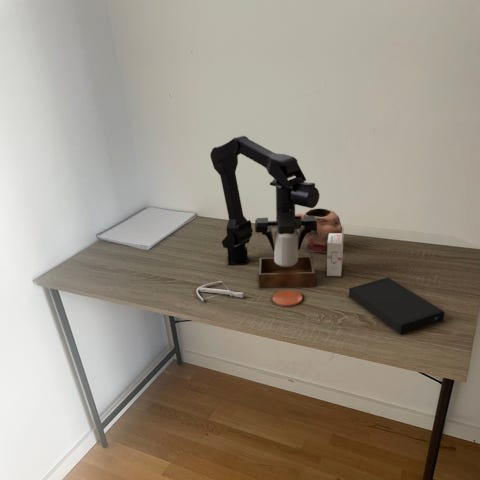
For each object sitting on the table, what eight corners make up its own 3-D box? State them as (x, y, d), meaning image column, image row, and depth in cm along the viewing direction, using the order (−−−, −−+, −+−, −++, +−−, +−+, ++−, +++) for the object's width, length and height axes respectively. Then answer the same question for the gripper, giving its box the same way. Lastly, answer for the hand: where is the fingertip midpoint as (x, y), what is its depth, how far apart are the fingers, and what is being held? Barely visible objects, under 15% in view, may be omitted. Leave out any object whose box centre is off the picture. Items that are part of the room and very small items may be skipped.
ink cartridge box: (327, 264, 159) (328, 223, 151) (341, 265, 158) (344, 224, 150) (325, 276, 152) (327, 233, 144) (341, 276, 151) (343, 234, 143)
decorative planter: (284, 250, 172) (284, 213, 164) (298, 238, 180) (298, 203, 173) (336, 258, 163) (338, 220, 155) (348, 245, 171) (350, 209, 164)
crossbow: (188, 301, 145) (187, 296, 144) (207, 283, 154) (206, 278, 153) (234, 307, 138) (233, 301, 137) (251, 288, 148) (250, 282, 147)
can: (300, 260, 151) (302, 225, 144) (293, 269, 145) (294, 233, 139) (279, 256, 154) (279, 222, 147) (270, 266, 148) (270, 230, 142)
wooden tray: (259, 288, 148) (258, 274, 145) (260, 270, 158) (259, 257, 156) (314, 286, 147) (314, 272, 144) (311, 269, 157) (311, 256, 154)
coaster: (272, 306, 138) (272, 305, 137) (272, 292, 145) (272, 290, 145) (303, 306, 137) (303, 304, 137) (301, 291, 145) (301, 289, 144)
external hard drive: (387, 285, 144) (388, 277, 142) (442, 320, 126) (444, 311, 124) (348, 297, 140) (349, 288, 138) (400, 335, 121) (401, 325, 120)
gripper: (253, 212, 133) (255, 261, 141) (319, 209, 131) (317, 259, 139) (254, 199, 142) (256, 247, 150) (316, 197, 140) (315, 245, 149)
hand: (286, 249), depth 147 cm, fingers closed on can, 7 cm apart
